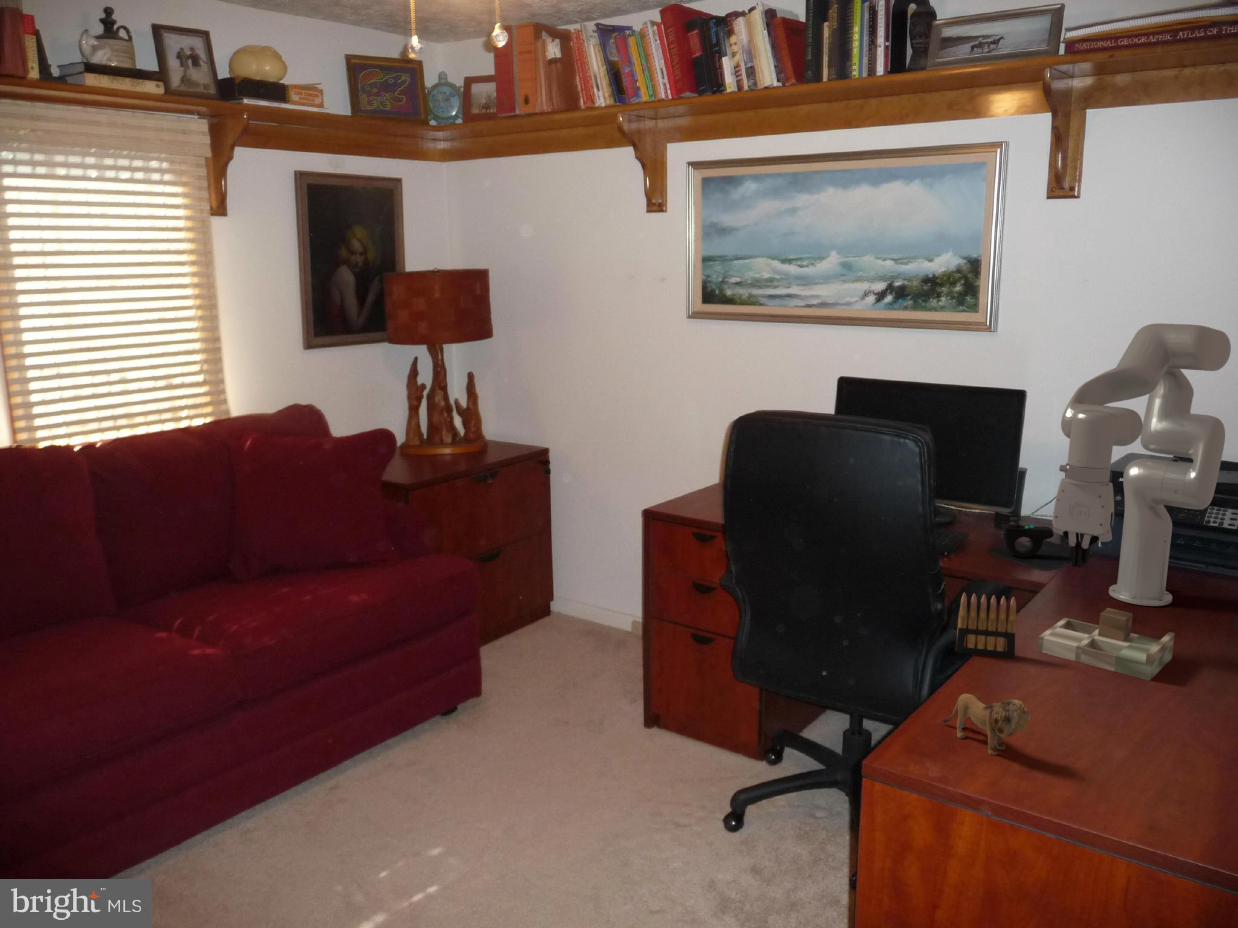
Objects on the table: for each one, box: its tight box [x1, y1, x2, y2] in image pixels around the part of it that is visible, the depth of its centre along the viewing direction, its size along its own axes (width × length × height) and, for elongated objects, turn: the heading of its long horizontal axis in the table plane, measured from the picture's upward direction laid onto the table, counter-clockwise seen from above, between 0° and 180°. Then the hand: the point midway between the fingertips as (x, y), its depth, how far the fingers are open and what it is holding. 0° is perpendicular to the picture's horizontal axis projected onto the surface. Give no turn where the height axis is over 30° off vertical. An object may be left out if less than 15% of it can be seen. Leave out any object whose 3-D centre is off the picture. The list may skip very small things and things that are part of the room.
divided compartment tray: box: [1036, 617, 1176, 682], centre depth 186 cm, size 14×20×5 cm
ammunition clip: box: [954, 592, 1017, 659], centre depth 186 cm, size 11×2×12 cm, turn 73°
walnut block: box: [1098, 607, 1134, 642], centre depth 187 cm, size 4×4×4 cm
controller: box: [1000, 516, 1055, 558], centre depth 248 cm, size 4×12×10 cm, turn 76°
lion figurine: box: [941, 693, 1032, 756], centre depth 152 cm, size 15×5×9 cm, turn 36°
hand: (1078, 565), depth 190 cm, fingers closed
